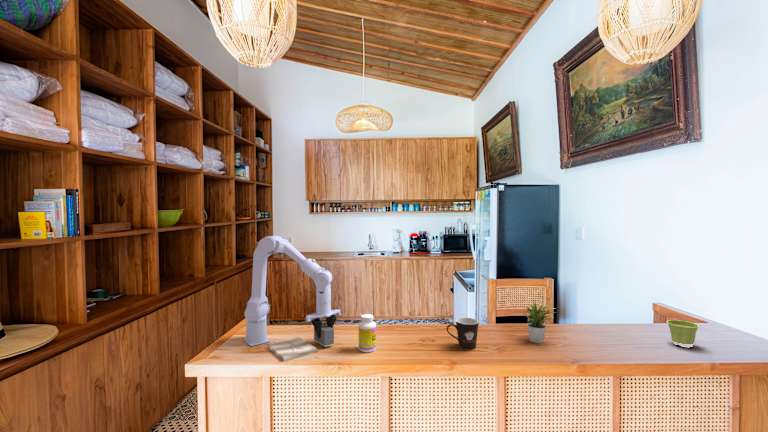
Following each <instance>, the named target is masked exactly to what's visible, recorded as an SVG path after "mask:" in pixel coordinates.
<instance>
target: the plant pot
mask: <svg viewBox="0 0 768 432" xmlns="http://www.w3.org/2000/svg"><path fill="white" fill-rule="evenodd" d="M666 323H667V324H668V327H669V332H670V336H671V342H672V341H674V342H677V343H682V344H693V343H694V344H695V340H696V334H697V331H698V328H699V327H700V325H699V324H697V323H694V322H691V321H686V320H679V319H668V320H666Z"/></svg>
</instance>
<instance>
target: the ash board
mask: <svg viewBox="0 0 768 432" xmlns="http://www.w3.org/2000/svg"><path fill="white" fill-rule="evenodd" d="M267 348H268V349H269V350H270V352H272V353H274V354H275V356H277V357H278V358H279V359H280V360H282V361H283V362H287V361H290V360H294V359H298V358H301V357H304V356H307V355H311V354H315V353H318V348H317V347H315V346H314V345H312V343H309V342H308V341H306V340H304V339H303V338H302V337H300V336H297V337H292V338H289V339H285V340H281V341H277V342H272V343H269V344H267Z"/></svg>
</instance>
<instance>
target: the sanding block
mask: <svg viewBox="0 0 768 432" xmlns="http://www.w3.org/2000/svg"><path fill="white" fill-rule="evenodd" d="M313 340H314V342H316V343H318V344H320V345H321V346H323V347H324V348H325V347H330V346H333V345H335V329H334V327H333V328H331V327H329V326H327V324H325V323H323V322H322V325H321V338H318V337H317V336H316V332H315V328H314V327H313Z"/></svg>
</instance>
